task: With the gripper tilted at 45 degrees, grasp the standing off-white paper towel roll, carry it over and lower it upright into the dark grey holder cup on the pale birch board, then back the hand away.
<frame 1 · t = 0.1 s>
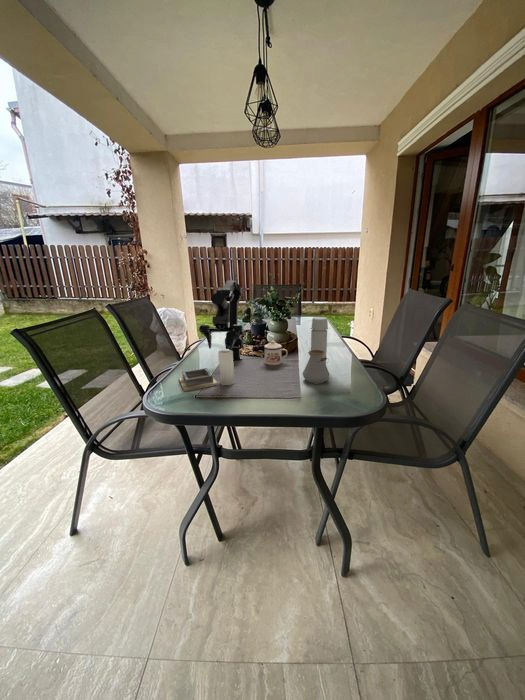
hand: (220, 348, 123), 15 cm above the table, tool tilted 35°, fingers open, 9 cm apart
roll holder: (197, 382, 126), on the table
teacup with lid: (276, 363, 149), on the table
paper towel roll: (227, 382, 124), on the table
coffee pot: (318, 385, 120), on the table
water bottle: (318, 370, 137), on the table
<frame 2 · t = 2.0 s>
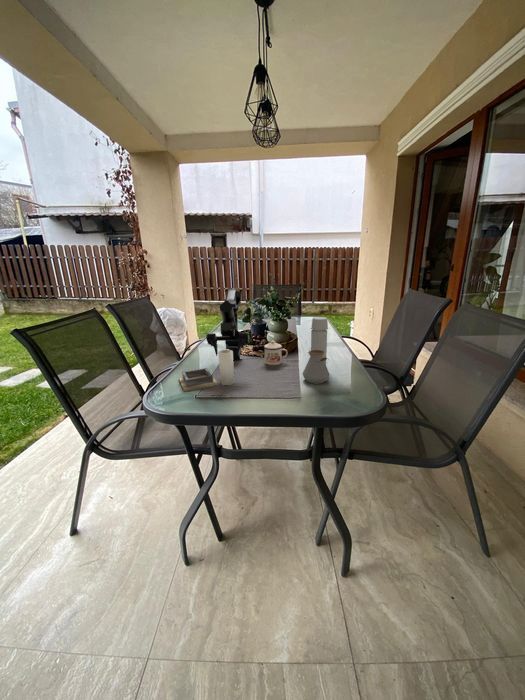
hand: (227, 355, 125), 11 cm above the table, tool tilted 45°, fingers open, 9 cm apart
nothing on the table moved.
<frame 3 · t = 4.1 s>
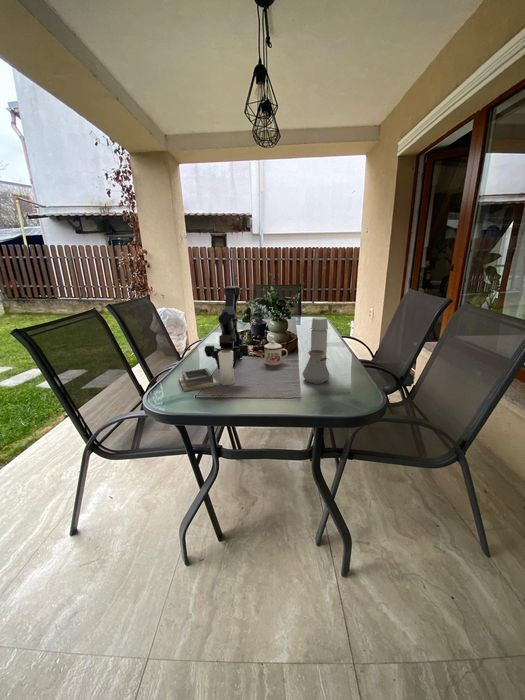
hand: (226, 368, 121), 7 cm above the table, tool tilted 45°, fingers closed on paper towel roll, 6 cm apart
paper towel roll: (227, 382, 124), on the table, touching gripper
everything else where it was.
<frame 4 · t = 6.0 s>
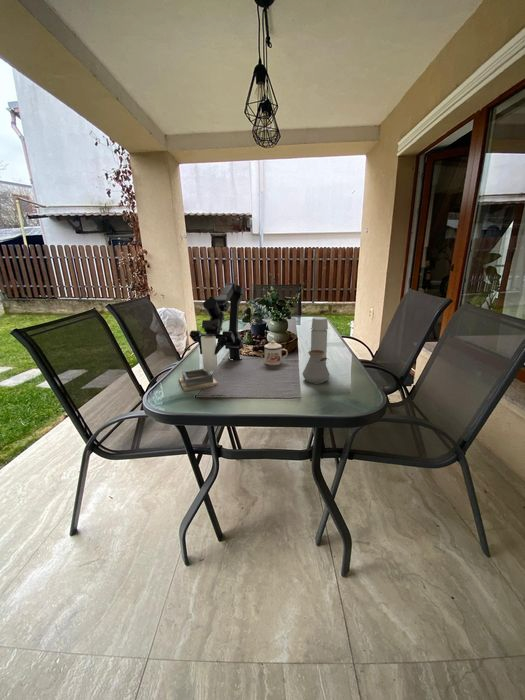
hand: (208, 354, 119), 14 cm above the table, tool tilted 45°, fingers closed on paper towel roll, 6 cm apart
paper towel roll: (210, 369, 123), point 7 cm above the table, touching gripper
everything else where it was.
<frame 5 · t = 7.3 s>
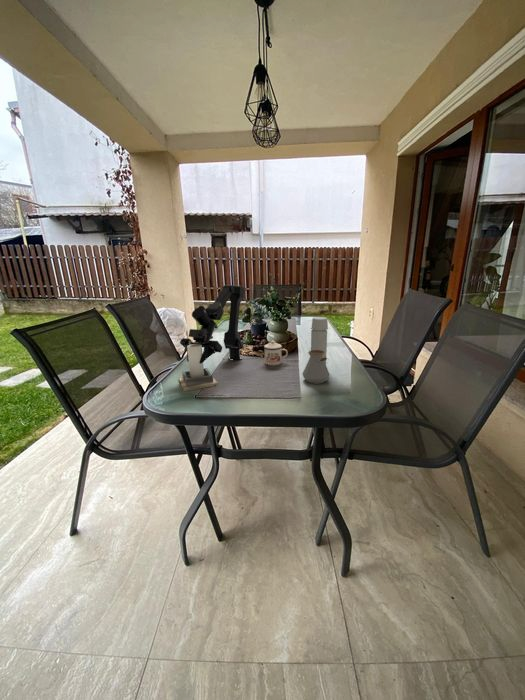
hand: (194, 362, 122), 10 cm above the table, tool tilted 45°, fingers closed on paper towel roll, 6 cm apart
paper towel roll: (197, 376, 125), point 3 cm above the table, touching gripper
everything else where it was.
when the fingers open (9 cm above the table, at t = 8.2 s): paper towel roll drops 1 cm, resting on roll holder.
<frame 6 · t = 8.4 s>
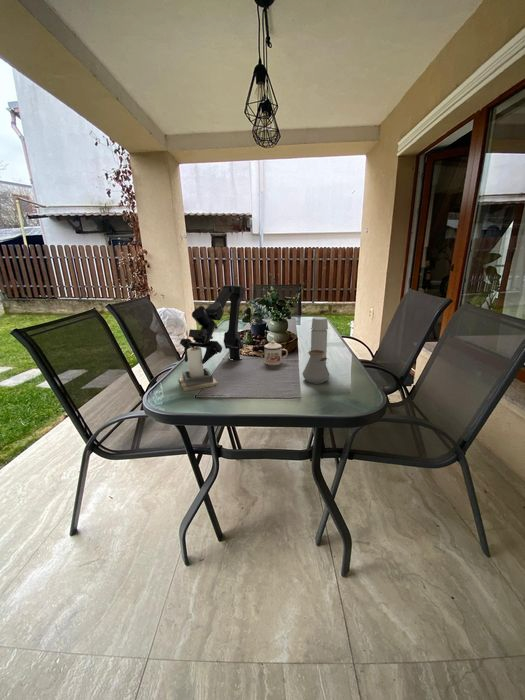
hand: (194, 362, 122), 10 cm above the table, tool tilted 45°, fingers open, 8 cm apart
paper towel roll: (197, 380, 125), point 1 cm above the table, touching roll holder
everything else where it was.
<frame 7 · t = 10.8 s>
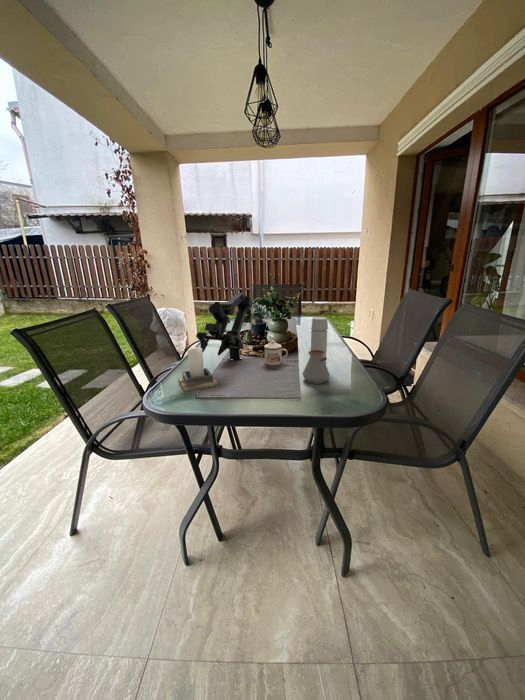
hand: (209, 354, 131), 10 cm above the table, tool tilted 45°, fingers open, 9 cm apart
nothing on the table moved.
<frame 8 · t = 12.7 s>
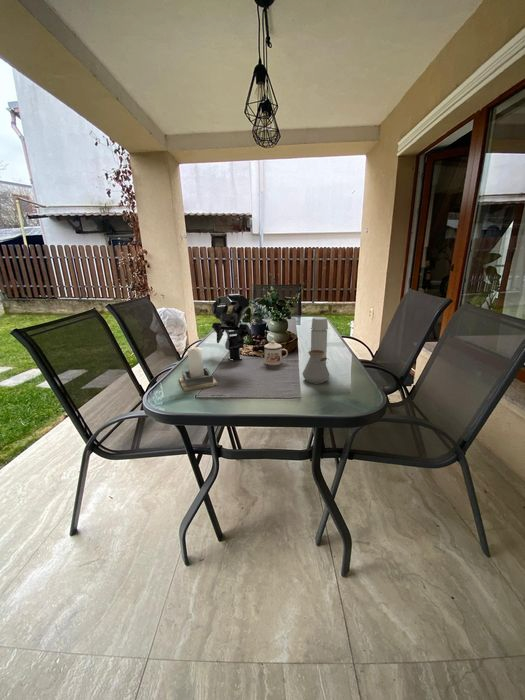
hand: (225, 343, 135), 14 cm above the table, tool tilted 45°, fingers open, 9 cm apart
nothing on the table moved.
at the end: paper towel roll 0.1 cm off-centre on the roll holder, point 1.0 cm above the roll holder's base; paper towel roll tilted 0°; the gripper is holding nothing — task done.
